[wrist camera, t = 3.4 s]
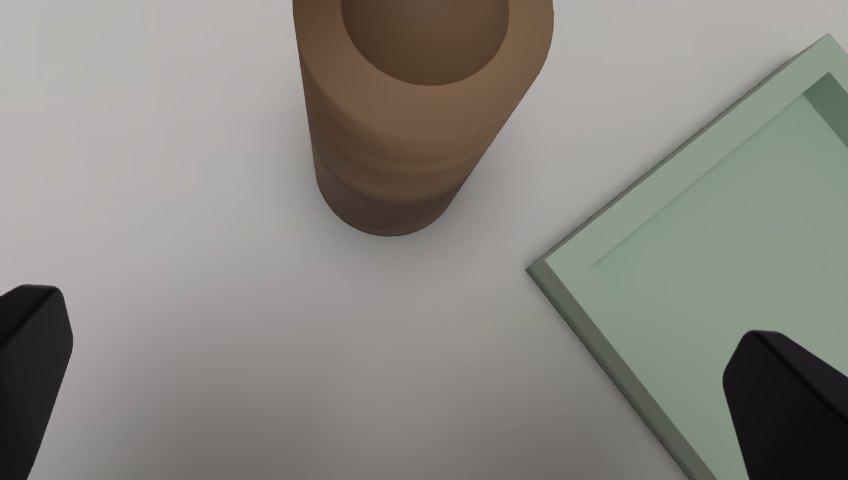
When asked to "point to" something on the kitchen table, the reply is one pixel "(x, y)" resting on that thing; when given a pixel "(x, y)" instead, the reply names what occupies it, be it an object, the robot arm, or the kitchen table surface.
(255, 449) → the kitchen table surface
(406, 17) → the mill
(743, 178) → the tray
